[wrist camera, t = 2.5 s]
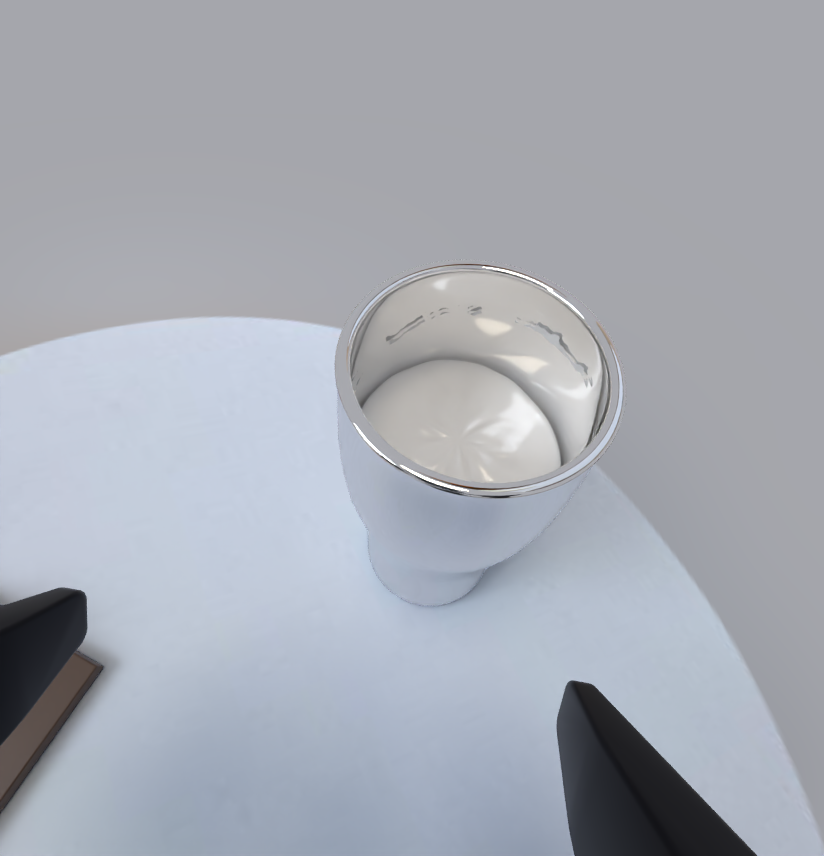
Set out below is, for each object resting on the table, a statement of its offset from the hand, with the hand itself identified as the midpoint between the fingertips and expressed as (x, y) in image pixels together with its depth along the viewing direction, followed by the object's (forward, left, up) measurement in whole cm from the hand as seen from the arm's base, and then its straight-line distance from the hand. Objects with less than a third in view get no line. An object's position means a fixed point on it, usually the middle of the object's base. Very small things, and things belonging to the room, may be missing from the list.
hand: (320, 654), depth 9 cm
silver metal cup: (0, -7, -14) cm, 15 cm away
